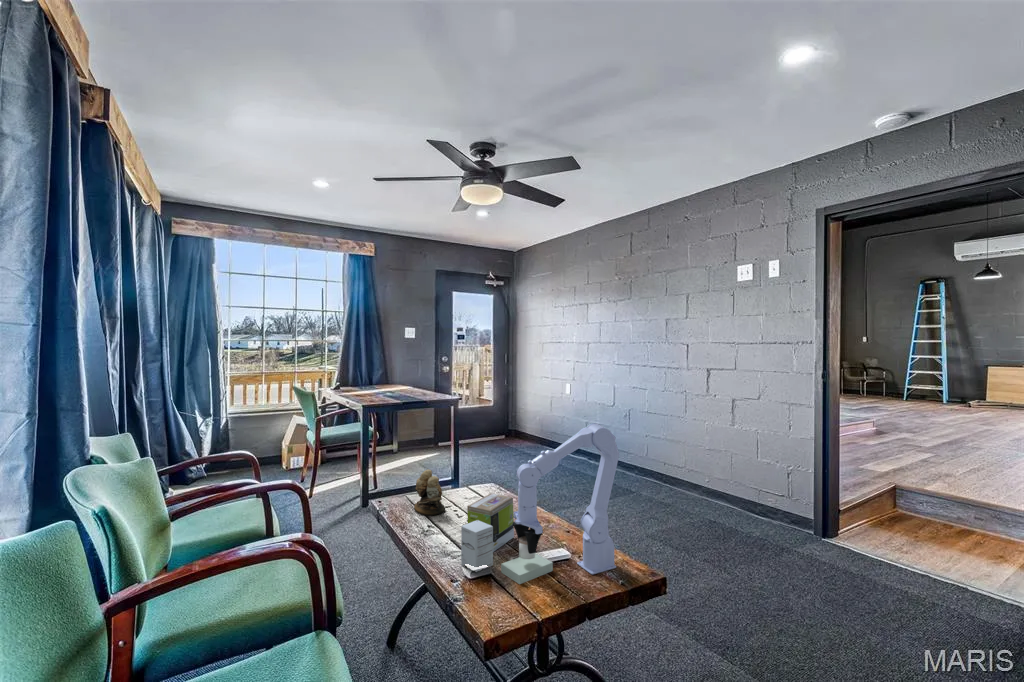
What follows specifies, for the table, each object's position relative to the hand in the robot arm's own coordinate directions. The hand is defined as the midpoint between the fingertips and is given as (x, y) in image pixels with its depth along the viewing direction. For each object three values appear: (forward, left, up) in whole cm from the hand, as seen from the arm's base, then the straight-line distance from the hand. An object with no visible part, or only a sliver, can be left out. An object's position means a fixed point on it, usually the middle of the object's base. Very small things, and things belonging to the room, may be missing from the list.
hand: (527, 548), depth 145 cm
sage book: (0, 0, -7) cm, 7 cm away
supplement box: (+12, -11, -7) cm, 18 cm away
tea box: (+1, -24, -7) cm, 25 cm away
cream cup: (0, 0, -2) cm, 2 cm away
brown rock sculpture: (+10, -65, -7) cm, 66 cm away
